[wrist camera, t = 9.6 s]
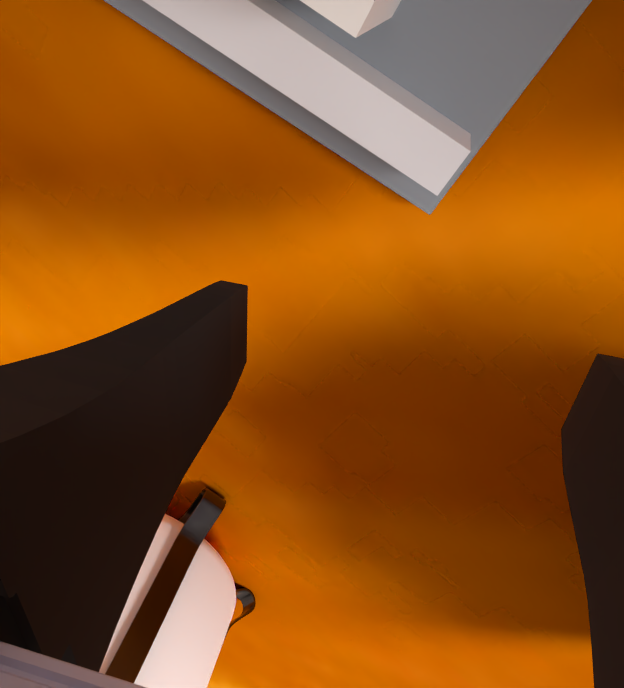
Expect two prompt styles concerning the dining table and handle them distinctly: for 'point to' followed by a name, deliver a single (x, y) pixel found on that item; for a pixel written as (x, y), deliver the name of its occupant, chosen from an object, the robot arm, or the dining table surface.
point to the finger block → (355, 13)
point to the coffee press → (177, 606)
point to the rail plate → (375, 74)
